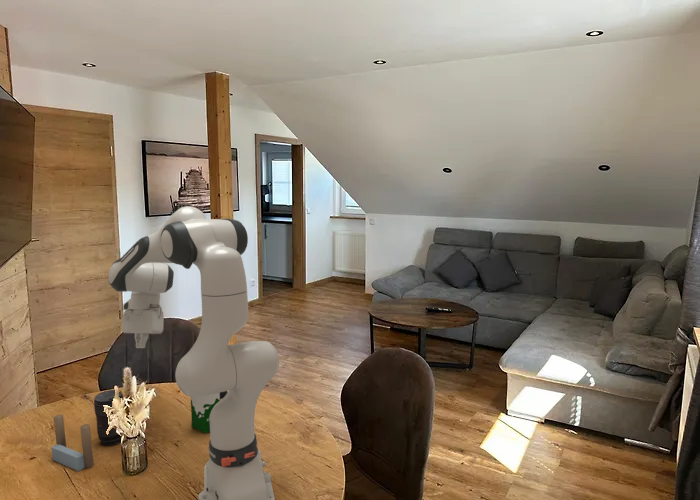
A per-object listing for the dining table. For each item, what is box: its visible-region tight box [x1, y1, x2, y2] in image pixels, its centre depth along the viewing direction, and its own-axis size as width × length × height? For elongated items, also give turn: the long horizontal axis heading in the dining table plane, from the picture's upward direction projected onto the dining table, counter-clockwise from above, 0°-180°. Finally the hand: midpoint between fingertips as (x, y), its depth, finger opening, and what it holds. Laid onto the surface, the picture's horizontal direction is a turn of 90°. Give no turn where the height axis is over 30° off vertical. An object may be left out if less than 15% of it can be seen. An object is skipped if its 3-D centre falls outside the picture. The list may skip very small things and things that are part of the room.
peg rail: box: [50, 414, 95, 472], centre depth 142 cm, size 4×15×12 cm, turn 62°
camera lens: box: [93, 389, 124, 447], centre depth 153 cm, size 8×8×15 cm
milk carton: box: [189, 393, 221, 434], centre depth 160 cm, size 9×9×20 cm
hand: (140, 348), depth 158 cm, fingers closed
